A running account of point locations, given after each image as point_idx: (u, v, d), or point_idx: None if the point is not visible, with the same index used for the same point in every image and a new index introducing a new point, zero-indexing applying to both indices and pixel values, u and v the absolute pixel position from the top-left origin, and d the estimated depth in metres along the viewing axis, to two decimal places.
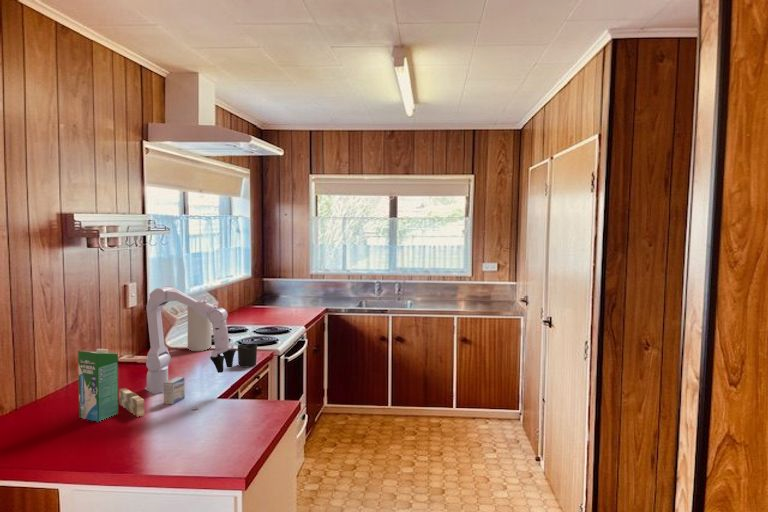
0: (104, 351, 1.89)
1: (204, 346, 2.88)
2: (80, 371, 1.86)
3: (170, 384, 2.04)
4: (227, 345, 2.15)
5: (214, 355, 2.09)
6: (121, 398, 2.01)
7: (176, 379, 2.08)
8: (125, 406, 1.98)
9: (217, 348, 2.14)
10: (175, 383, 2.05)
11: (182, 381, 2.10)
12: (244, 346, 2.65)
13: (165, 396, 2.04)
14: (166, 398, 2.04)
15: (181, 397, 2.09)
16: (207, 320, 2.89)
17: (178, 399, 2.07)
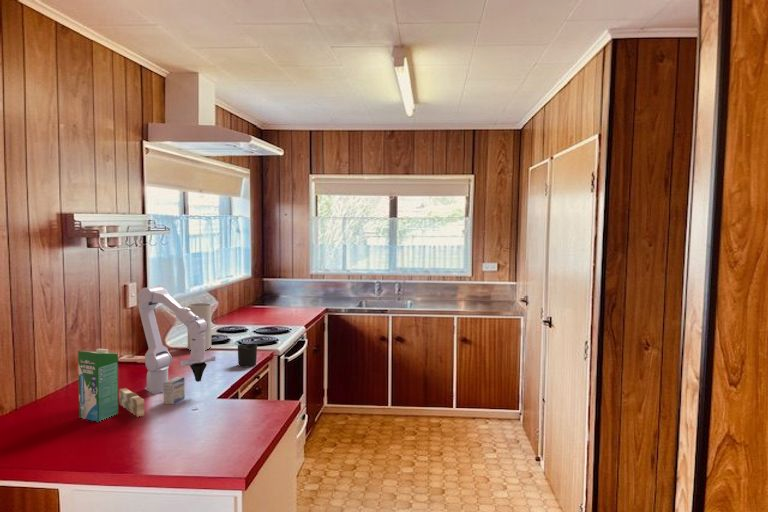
0: (104, 351, 1.89)
1: None
2: (80, 371, 1.86)
3: (170, 384, 2.04)
4: (199, 357, 2.12)
5: (181, 365, 2.09)
6: (121, 398, 2.01)
7: (176, 379, 2.08)
8: (125, 406, 1.98)
9: None
10: (175, 383, 2.05)
11: (182, 381, 2.10)
12: (244, 346, 2.65)
13: (165, 396, 2.04)
14: (166, 398, 2.04)
15: (181, 397, 2.09)
16: (207, 320, 2.89)
17: (178, 399, 2.07)
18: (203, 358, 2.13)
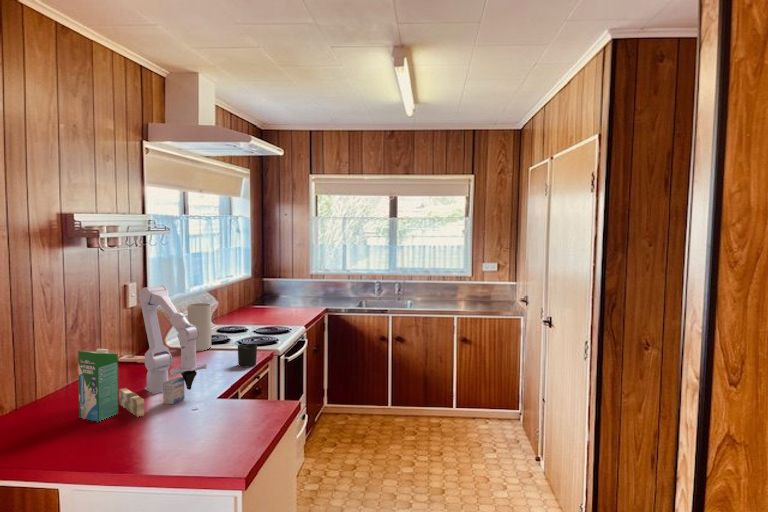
0: (104, 351, 1.89)
1: (204, 346, 2.88)
2: (80, 371, 1.86)
3: (170, 384, 2.04)
4: (190, 365, 2.09)
5: (171, 373, 2.06)
6: (121, 398, 2.01)
7: (176, 379, 2.08)
8: (125, 406, 1.98)
9: (181, 366, 2.10)
10: (174, 383, 2.05)
11: (182, 381, 2.10)
12: (244, 346, 2.65)
13: (165, 396, 2.04)
14: (165, 398, 2.04)
15: (181, 397, 2.09)
16: (207, 320, 2.89)
17: (178, 399, 2.07)
18: (194, 366, 2.11)
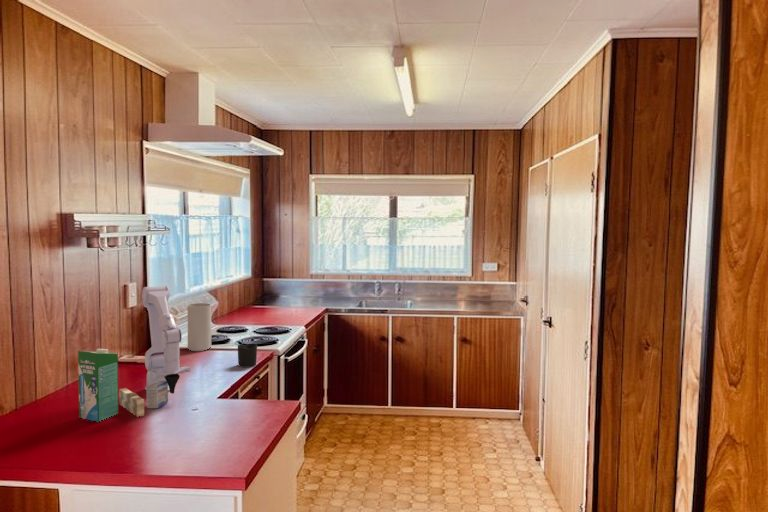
0: (104, 351, 1.89)
1: (204, 346, 2.88)
2: (80, 371, 1.86)
3: (154, 387, 1.98)
4: (173, 369, 2.04)
5: (153, 377, 2.01)
6: (121, 398, 2.01)
7: (159, 382, 2.03)
8: (125, 406, 1.98)
9: (164, 369, 2.05)
10: (158, 386, 2.00)
11: (165, 384, 2.05)
12: (244, 346, 2.65)
13: (148, 401, 1.99)
14: (149, 403, 1.99)
15: (165, 401, 2.04)
16: (207, 320, 2.89)
17: (162, 403, 2.02)
18: (177, 369, 2.06)
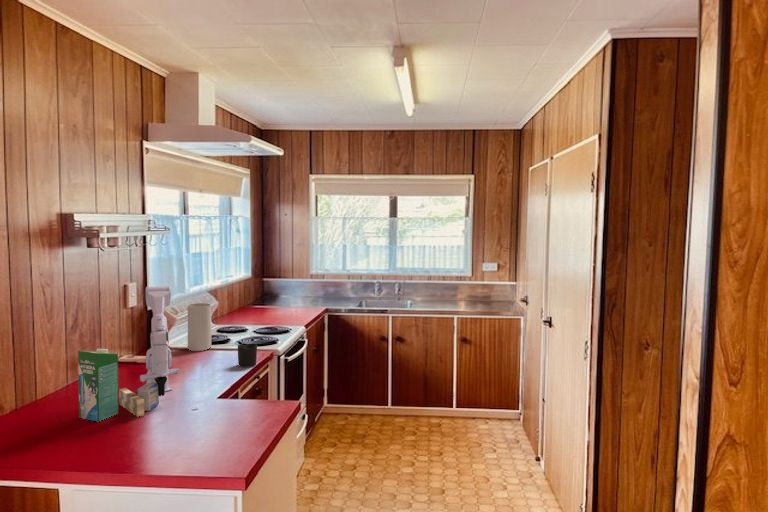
0: (104, 351, 1.89)
1: (204, 346, 2.88)
2: (80, 371, 1.86)
3: (145, 389, 1.96)
4: (161, 371, 2.01)
5: (141, 379, 1.98)
6: (121, 398, 2.01)
7: (150, 384, 2.00)
8: (125, 406, 1.98)
9: (152, 372, 2.02)
10: (150, 388, 1.97)
11: (156, 386, 2.02)
12: (244, 346, 2.65)
13: None
14: None
15: (156, 403, 2.02)
16: (207, 320, 2.89)
17: (153, 405, 1.99)
18: (165, 371, 2.03)
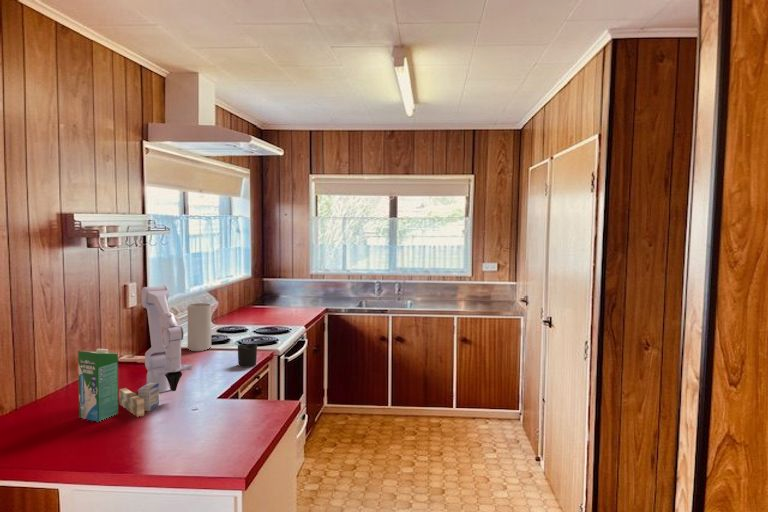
0: (104, 351, 1.89)
1: (204, 346, 2.88)
2: (80, 371, 1.86)
3: (146, 390, 1.96)
4: (174, 366, 2.05)
5: (155, 374, 2.02)
6: (121, 398, 2.01)
7: (151, 385, 2.00)
8: (125, 406, 1.98)
9: (165, 367, 2.06)
10: (151, 389, 1.97)
11: (157, 387, 2.02)
12: (244, 346, 2.65)
13: None
14: None
15: (156, 403, 2.02)
16: (207, 320, 2.89)
17: (154, 406, 1.99)
18: (178, 367, 2.06)
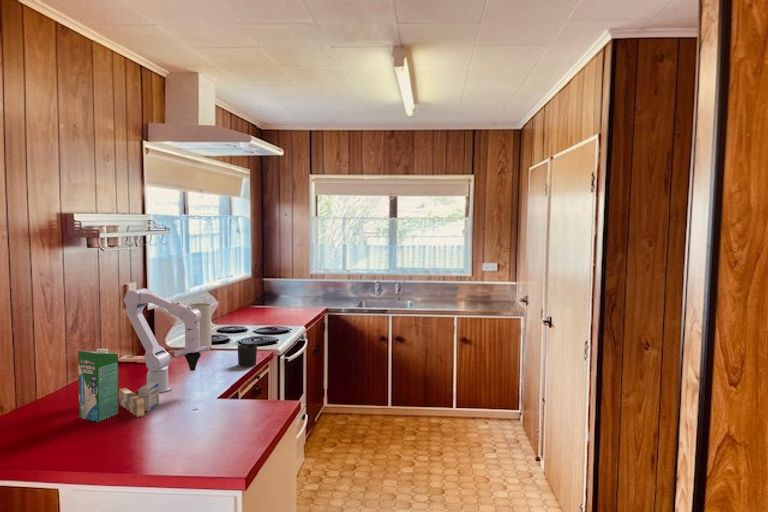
0: (104, 351, 1.89)
1: None
2: (80, 371, 1.86)
3: (146, 390, 1.96)
4: (194, 347, 2.15)
5: (175, 354, 2.12)
6: (121, 398, 2.01)
7: (151, 385, 2.00)
8: (125, 406, 1.98)
9: (185, 348, 2.16)
10: (151, 389, 1.97)
11: (157, 387, 2.02)
12: (244, 346, 2.65)
13: None
14: None
15: (156, 403, 2.02)
16: (207, 320, 2.89)
17: (154, 406, 1.99)
18: (197, 348, 2.17)
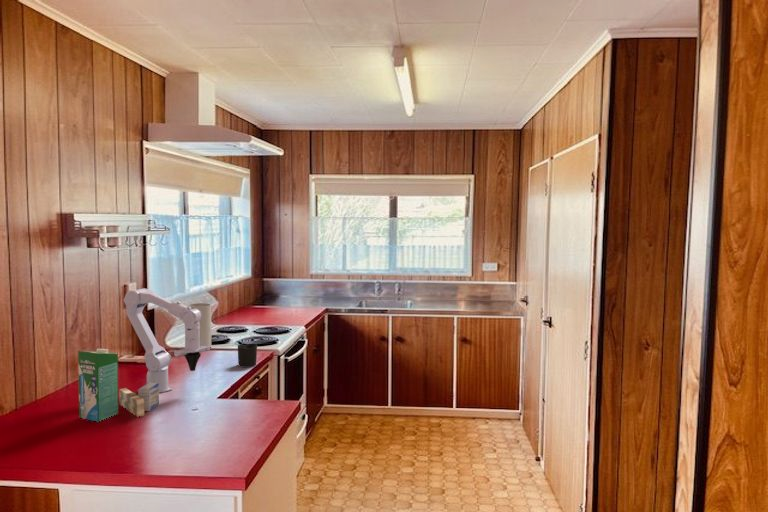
0: (104, 351, 1.89)
1: None
2: (80, 371, 1.86)
3: (146, 390, 1.96)
4: (194, 347, 2.15)
5: (175, 354, 2.12)
6: (121, 398, 2.01)
7: (151, 385, 2.00)
8: (125, 406, 1.98)
9: (185, 348, 2.16)
10: (151, 389, 1.97)
11: (157, 387, 2.02)
12: (244, 346, 2.65)
13: None
14: None
15: (156, 403, 2.02)
16: (207, 320, 2.89)
17: (154, 406, 1.99)
18: (197, 348, 2.17)
